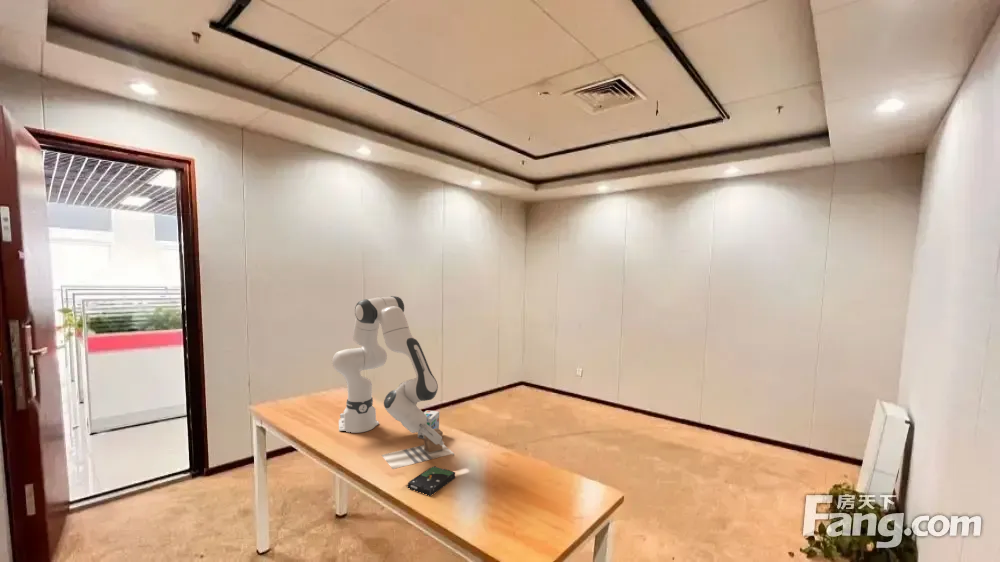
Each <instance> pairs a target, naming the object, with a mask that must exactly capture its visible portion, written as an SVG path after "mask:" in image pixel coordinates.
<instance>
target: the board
mask: <svg viewBox="0 0 1000 562" xmlns="http://www.w3.org/2000/svg"><path fill="white" fill-rule="evenodd" d="M450 455H452V456H455V453H454V451H452V450H451V449H450V448H449V447H447V445H445V443H444V444H443V445H442V451H440V452H436V453H432V454H428V453H427V452H426V451H425V450H424V444H423V445H418V446H414V447H410V448H404V449H400V450H396V451H392V452H388V453H383V454H381V457H382V458H383V459H384V460H385V462H386V463H387V464H388V465H389V466H390V468H391V469H392V470H395V469H398V468H403V467H407V466H411V465H414V464H419V463H422V462H426V461H429V460H434V459H438V458H442V457H446V456H450Z"/></svg>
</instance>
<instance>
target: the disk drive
mask: <svg viewBox="0 0 1000 562" xmlns="http://www.w3.org/2000/svg"><path fill="white" fill-rule="evenodd" d="M455 479H456V471H452V470H449V469H446V468H441V467H438V466H437V465H434V466H432V467H429V468H428V469H427V470H424V471H423V472H421V473H420V474H418V475H417V476H416V477H414V478H412V479H411V480H409V481H408V482H407V489H408V488H410V489H409V490H411V489H412V490H411V491H413V490H415V491H414V492H416V491H418V492H417V493H419V492H421V493H420V494H422V493H424V494H427V495H426V496H428V495H429V496H428V497H432V496H433V495H434V493H435V492H436V493H437V492H438V491H440V490H441V489H442V488H444V487H445V486H446V485H448V484H449V483H451V482H452V481H453V480H455ZM443 486H444V487H443ZM436 493H435V494H436ZM424 494H423V495H424ZM432 494H433V495H432ZM431 495H432V496H431Z"/></svg>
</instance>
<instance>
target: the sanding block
mask: <svg viewBox="0 0 1000 562" xmlns="http://www.w3.org/2000/svg"><path fill="white" fill-rule="evenodd" d="M433 430H435V431H436V432H437V433H438V434H439V435H440V436H441V437H442V439H441V440H442V441H443V436H444V435H443V431H442V430H441V429H440V428H439V429H438V428H436V429H433ZM423 441H424V444H423V445H424V450H425V451H426V452H427V453H428V454H432V453H436V452H440V451H442V446H441V445H439V444H437V445H436V444H434V443H433V442H432V441H431V440H430V439H429V438H427V437H426V436H425V435H424V439H423ZM443 442H444V441H443Z"/></svg>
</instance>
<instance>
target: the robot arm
mask: <svg viewBox="0 0 1000 562" xmlns="http://www.w3.org/2000/svg"><path fill="white" fill-rule="evenodd" d="M354 308H355V309H354V316H355V319H354V325H353V331H352V339H353V341H354V342H355V343H356V344H357V345H359V346H361V347H355V348H353V347H352V348H345V349H341V350H339V351H336V352H335V353H334V354H333V357H332V360H331V361H332V363H331V364H332V367H333V369H334V370H335V371H336V372H337V373H339V374H340V375H341V376H342V377H343V378H344V379H345V381H346V385H347V399H346V405H345V408H344V410H343V412H342V413H340V415H339V416H340V419H338V432H340V431H346V432H347V433H350V432H351V433H353V434H355V433H357V434H359V433H364V432H369V431H371V430H372V429H373V430H374V428H375V427H376V426H378V425H379V424H380V421H378V420H377V413H376V412H377V411H376V408H375V406H373V405H374V404H373V402H374V399H373V394H372V393H373V384H372V381H371V380H370V379H369V378H368V377H365V376H362V374H361V371H366V370H368V371H369V370H374V369H377V368H380V367H383V366H385V364H386V362H387V360H388V355H387V352H386V349H384V347H382V346H381V345H380V344H379V342H378V336H379V335H378V334H379V327H380V326H381V330H382V336H383V339H384V343H385V345H386V347H387V349H388V350H390V351H391V352H394V353H399V354H403V355H405V356H407V357H408V358H409V360H410V362H411V365H412V367H413V369H414V373H415V374H416V377H415V378H411V379H408V380H404V381H403V382H401V383H400V384H399V385H398V386H397V388H396V389H393V390H390V391H389V392H388V393H386V394H387V395H386V396H385V397H384V399H383V406H384V409H385V410H386V411H387V413H388V414H389V415H390V416H391V417H392V418H393V419H395V421H398V422H400V424H401V425H402V426H403V427H404V428H405V429H406V430H407V431H409V432H410V433H412V434H414V433H417V434H418V432H422V433H423V434H424V435H425V436H426V437H427V438H429V439H430V440H431V441H432V442H433V443H434V444H436V445H437V444H439V445H441V446H442V445H443V444H444V445H445V442H444V441H442V440H441V439H442V437H441V436H440V435H439V434H438V433H437V432H436V431H435V430H433V429H432V428H431V427H430V426H429V425H427V420H426V419H427V416H426V414H425V413H424V411H422V410H421V409H420V408H419V407H418V406H417V405H418V403H420V402H425V401H431V400H432V399H434V398H435V397H436V395H437V393H438V389H439V387H438V381H437V380H436V378H435V376H434V374H433V373H432V371H431V368H430V366H429V364H428V361H427V358H426V356H425V354H424V351H423V349H422V347H421V344H420V342H419V341H418V340H417V339H416V338H414V337H413V334H412V333H411V330H410V328H409V323H408V320H407V317H406V315H405V313H404V312H405V304H404V301H403V299H402V298H401V297H399V296H394V295H390V296H378V297H372V298H368V299H366V298H365V299H362V300H360V301H358V302H357V303H356V305H355V307H354ZM346 432H345V433H346Z"/></svg>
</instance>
